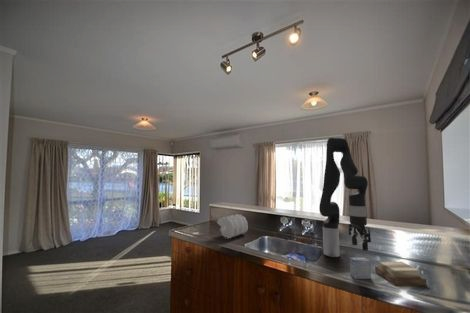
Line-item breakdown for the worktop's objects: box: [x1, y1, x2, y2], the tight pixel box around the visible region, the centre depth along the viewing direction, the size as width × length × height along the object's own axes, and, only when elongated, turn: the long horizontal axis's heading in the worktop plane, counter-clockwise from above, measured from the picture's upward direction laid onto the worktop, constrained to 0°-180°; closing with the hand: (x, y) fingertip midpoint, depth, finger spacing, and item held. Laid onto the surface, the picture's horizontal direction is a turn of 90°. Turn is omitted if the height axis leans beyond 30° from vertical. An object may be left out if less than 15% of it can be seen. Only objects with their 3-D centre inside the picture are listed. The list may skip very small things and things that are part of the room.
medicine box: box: [349, 257, 372, 280], centre depth 104 cm, size 8×4×9 cm, turn 92°
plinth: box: [374, 261, 428, 287], centre depth 103 cm, size 14×14×6 cm
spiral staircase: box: [216, 213, 249, 239], centre depth 175 cm, size 18×18×25 cm
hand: (359, 247), depth 105 cm, fingers open, 8 cm apart
